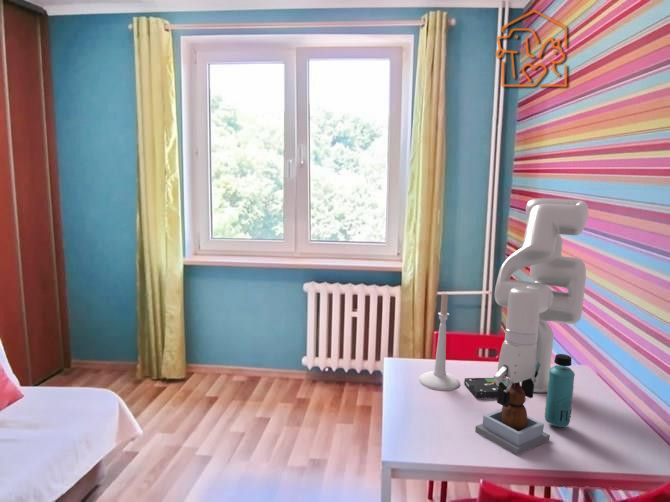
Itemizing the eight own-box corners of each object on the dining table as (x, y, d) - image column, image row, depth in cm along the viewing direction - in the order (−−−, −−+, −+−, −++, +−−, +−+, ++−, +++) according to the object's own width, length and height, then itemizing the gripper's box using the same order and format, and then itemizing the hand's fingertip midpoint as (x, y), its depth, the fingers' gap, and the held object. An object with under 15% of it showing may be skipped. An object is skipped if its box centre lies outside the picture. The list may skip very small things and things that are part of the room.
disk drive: (475, 400, 152) (522, 399, 153) (476, 392, 151) (523, 390, 153) (463, 386, 162) (507, 384, 163) (463, 377, 161) (508, 376, 163)
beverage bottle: (558, 434, 132) (566, 362, 129) (537, 422, 138) (544, 353, 135) (575, 429, 135) (583, 358, 132) (554, 418, 141) (561, 349, 138)
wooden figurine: (497, 423, 134) (502, 369, 132) (519, 423, 134) (524, 370, 131) (505, 436, 127) (510, 380, 125) (528, 437, 127) (533, 381, 125)
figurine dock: (506, 418, 140) (508, 403, 139) (549, 440, 129) (551, 424, 128) (475, 431, 132) (476, 415, 132) (517, 455, 122) (518, 437, 121)
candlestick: (457, 375, 168) (463, 288, 163) (461, 392, 156) (468, 298, 151) (418, 372, 170) (423, 286, 165) (419, 388, 158) (425, 295, 153)
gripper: (529, 327, 134) (523, 387, 137) (486, 337, 125) (480, 402, 127) (554, 335, 128) (548, 398, 131) (511, 347, 119) (505, 414, 121)
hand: (515, 400), depth 129 cm, fingers open, 9 cm apart
